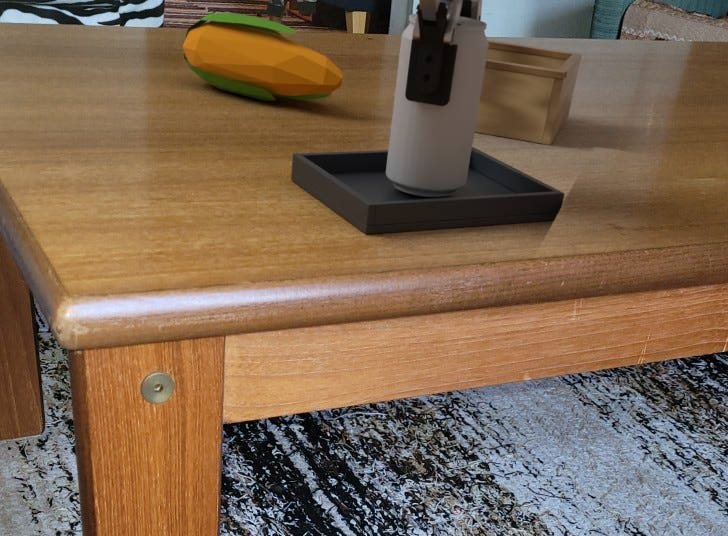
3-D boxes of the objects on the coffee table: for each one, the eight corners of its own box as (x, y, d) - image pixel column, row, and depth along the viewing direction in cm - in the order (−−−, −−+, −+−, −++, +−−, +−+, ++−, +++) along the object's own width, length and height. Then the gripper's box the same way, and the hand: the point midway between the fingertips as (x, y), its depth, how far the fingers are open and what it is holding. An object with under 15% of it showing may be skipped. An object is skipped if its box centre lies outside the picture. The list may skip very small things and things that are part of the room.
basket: (568, 120, 107) (582, 54, 103) (550, 145, 97) (565, 72, 93) (454, 101, 110) (464, 36, 106) (425, 124, 100) (435, 52, 96)
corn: (211, -3, 106) (368, 28, 97) (212, 73, 110) (363, 109, 102) (164, 7, 101) (326, 41, 92) (168, 86, 105) (322, 125, 97)
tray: (469, 171, 87) (473, 146, 86) (558, 220, 77) (565, 193, 76) (290, 180, 80) (292, 153, 79) (365, 234, 70) (369, 205, 69)
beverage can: (373, 189, 76) (392, 16, 69) (398, 170, 81) (419, 7, 74) (452, 205, 75) (480, 29, 68) (473, 185, 80) (501, 19, 73)
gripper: (513, -208, 56) (461, 125, 66) (558, -191, 70) (508, 83, 80) (387, -219, 58) (356, 107, 68) (455, -201, 71) (420, 69, 82)
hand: (438, 91), depth 74 cm, fingers closed on beverage can, 6 cm apart
